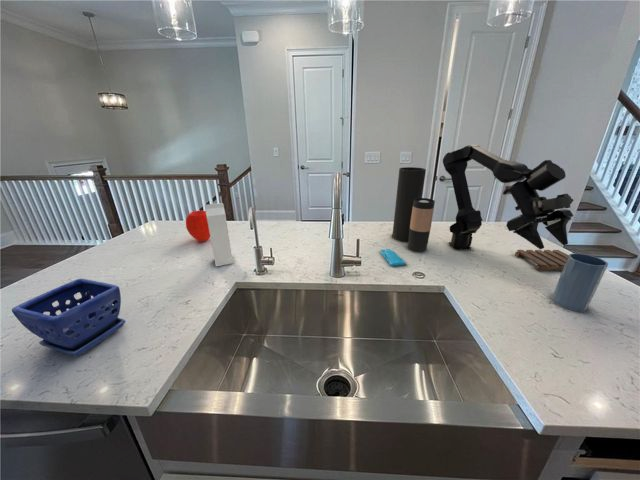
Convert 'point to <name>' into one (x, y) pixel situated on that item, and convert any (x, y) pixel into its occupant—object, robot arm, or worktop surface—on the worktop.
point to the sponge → (392, 257)
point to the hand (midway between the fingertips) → (554, 246)
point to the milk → (219, 233)
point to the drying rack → (545, 259)
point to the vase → (407, 199)
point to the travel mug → (420, 224)
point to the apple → (198, 225)
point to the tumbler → (579, 281)
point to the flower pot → (73, 315)
